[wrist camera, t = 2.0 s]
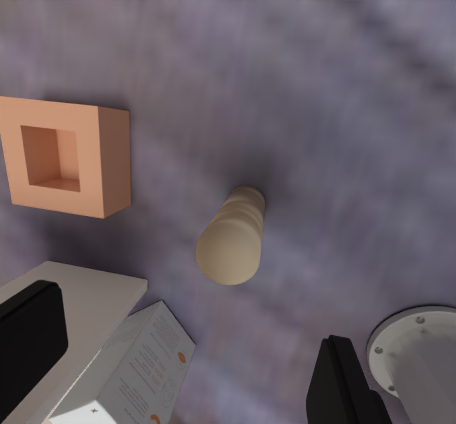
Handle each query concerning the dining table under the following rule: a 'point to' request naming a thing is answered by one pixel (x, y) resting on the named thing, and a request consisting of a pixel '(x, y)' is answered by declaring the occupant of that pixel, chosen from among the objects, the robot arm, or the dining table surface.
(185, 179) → the dining table surface
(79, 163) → the socket
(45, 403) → the lidded rectangular box
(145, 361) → the small box
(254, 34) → the dining table surface
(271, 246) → the dining table surface
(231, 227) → the peg
